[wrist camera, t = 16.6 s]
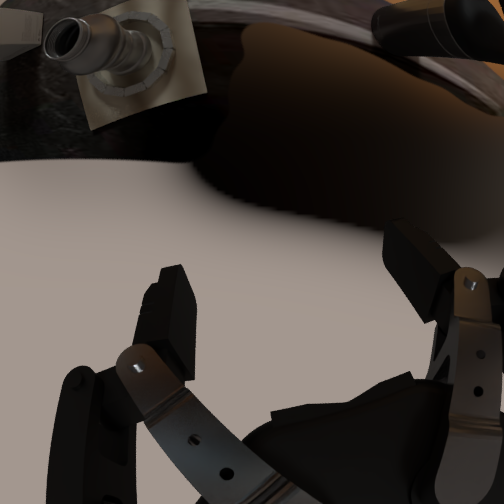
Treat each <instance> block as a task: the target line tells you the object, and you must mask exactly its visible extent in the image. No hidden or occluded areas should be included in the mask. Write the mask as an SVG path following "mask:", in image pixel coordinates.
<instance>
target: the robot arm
mask: <svg viewBox="0 0 504 504" xmlns="http://www.w3.org/2000/svg"><path fill="white" fill-rule="evenodd" d="M499 3H500V5H501V7H502V11H503V14H504V0H499ZM372 30H373V33H374V35H375V37H376V39H377V41H378V42H379V44H380V45H381V46H382V47H383V48H384V49H385V50H386V51H388V52H389V53H391V54H393V55H397V56H424V57H447V58H460V59H470V60H477V61H485V62H491V63H497V64H502V65H504V21H503V19H502V18H501V16H500V15H499V13H498V12H497V11H496V9H495V8H494V7H493V5H492V4H491V3H490V2H489V1H488V0H407V1H403V2H400V3H396V4H392V5H389V6H386V7H382V8H380V9H378V10H377V11H376V12H375V13H374V15H373V18H372ZM382 257H383V262H384V265H385V267H386V269H387V270H388V271H389V273H390V274H391V276H392V277H393V278H394V280H395V281H396V282H397V284H398V285H399V287H400V288H401V289H402V291H403V292H404V294H405V295H406V297H407V298H408V300H409V301H410V303H411V304H412V306H413V307H414V308H415V310H416V312H417V313H418V315H419V316H420V318H421V319H422V321H423V322H424V324H425V323H428V322H430V321H433V320H435V321H436V322H437V325H436V327H435V332H434V340H433V347H432V354H431V360H430V365H429V369H428V373H427V375H426V378H425V379H414V378H413V376H412V374H411V372H410V371H409V372H406V373H404V374H401V375H399V376H396V377H393V378H391V379H388V380H385V381H383V382H380V383H378V384H377V385H375V386H373V387H372V388H370V389H369V390H367V391H365V392H364V393H362V394H361V395H359V396H357V397H356V398H354V399H352V400H350V401H349V402H344V403H325V404H324V403H323V404H305V405H300V406H296V407H291V408H287V409H282V410H277V411H272V412H271V418H272V420H271V421H269V422H267V423H265V424H263V425H262V426H259V427H258V428H256V429H255V430H253V431H252V432H251V433H249V434H248V435H247V436H246V437H245V438H244V439H243V440H242V441H240V440H239V439H238V438H237V437H236V436H235V435H234V434H232V433H231V432H230V431H229V430H228V429H227V428H226V427H225V426H224V425H223V424H222V423H221V422H220V421H219V420H218V419H217V418H216V417H215V416H214V415H213V414H212V413H211V412H210V411H209V410H208V409H207V408H206V407H205V406H204V405H203V404H202V403H201V402H200V401H199V400H198V399H197V398H196V397H195V395H194V394H193V393H192V392H191V391H190V390H189V389H188V388H186V387H185V381H191V380H195V347H196V320H197V304H196V299H195V296H194V293H193V290H192V288H191V286H190V283H189V281H188V279H187V276H186V274H185V271H184V268H183V267H182V265H181V264H179V265H174V266H170V267H165V268H162V269H161V271H160V276H159V279H158V282H157V283H153V284H151V285H150V287H149V288H148V289H147V291H146V292H145V294H144V297H143V301H142V306H141V309H140V315H139V317H138V322H137V326H136V330H135V334H134V339H133V343H132V346H130V347H128V348H127V349H126V350H124V351H123V352H122V353H121V354H120V356H119V357H118V359H117V362H116V366H114V367H111V368H109V369H106V370H104V371H101V372H98V373H95V372H94V371H93V370H92V369H91V368H90V367H88V366H78V367H76V368H74V369H73V370H71V371H70V372H69V373H68V374H67V376H66V377H65V379H64V381H63V385H62V389H61V393H60V397H59V402H58V407H57V412H56V417H55V423H54V429H53V434H52V441H51V447H50V455H49V464H48V474H47V489H46V504H137V492H136V426H137V423H139V422H141V421H144V424H145V425H146V427H147V429H148V430H149V432H150V433H151V434H152V436H153V437H154V438H155V440H156V441H157V443H158V444H159V445H160V447H161V448H162V449H163V450H164V452H165V453H166V454H167V456H168V457H169V458H170V460H171V461H172V462H173V463H174V464H175V466H176V467H177V468H178V469H179V470H180V472H181V473H182V474H183V475H184V476H185V478H186V479H187V480H188V481H189V482H190V483H191V484H192V486H193V487H194V488H195V489H196V490H197V491H198V492H199V493H200V494H201V495H202V496H201V497H200V498H199V499H198V501H197V502H196V504H504V413H503V412H501V411H500V406H501V393H502V372H503V373H504V268H503V269H502V272H501V274H500V277H499V278H488V279H487V278H486V277H485V276H484V275H483V274H482V273H481V272H480V271H478V270H476V269H474V268H470V267H462V268H461V267H460V266H459V265H458V263H457V262H456V261H455V260H454V259H453V258H452V257H451V256H450V255H449V254H448V253H447V252H446V251H445V250H444V249H443V248H441V247H440V245H439V244H438V243H437V242H435V241H434V239H433V238H432V237H431V236H430V235H429V234H428V233H427V232H425V231H423V230H421V229H419V228H417V227H414V226H413V225H412V224H411V223H410V222H409V221H407V220H406V219H405V218H398V219H393V220H389V221H386V223H385V227H384V239H383V251H382Z"/></svg>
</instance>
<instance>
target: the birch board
mask: <svg viewBox="0 0 504 504" xmlns="http://www.w3.org/2000/svg"><path fill="white" fill-rule="evenodd" d="M128 11H129V12H130V11H138V12H148V13H152V14H154V15H155V16H157V17H158V18H159V19H160V20H161V21H163V22H164V23H165V24H166V25H167V26H168V27H169V28H170V29H171V31H172V34H173V38H174V43H175V47H176V49H175V51H176V52H175V55H174V58H173V60H172V63H171V66H170V69H169V71H168V70H165V71H166V72H168V73H167V74H166V75H165V76H164V77H163V78H161V79H160V80H159V81H158V82H157V83H156V84H155V85H154V86H153V87H152V88H150V89H149V90H146V91H143V92H140V93H137V94H134V95H131V96H127V97H119V96H113V95H106V94H104V93H101V92H100V91H99V90H98V89H96V88H95V87H94V86H93V85H92V84H91V83H90V82H89V80H90V79H87V76H86V75H82V76H78V75H76V77H77V82H78V86H79V90H80V94H81V98H82V102H83V105H84V109H85V113H86V116H87V120H88V123H89V126H90V130H91V131H92V130H94V129H96V128H99V127H101V126H104V125H106V124H108V123H111V122H114V121H116V120H119V119H121V118H124V117H127V116H130V115H132V114H135V113H138V112H141V111H144V110H147V109H150V108H153V107H156V106H159V105H163V104H166V103H169V102H173V101H176V100H180V99H183V98H187V97H191V96H195V95H199V94H203V93H207V88H206V84H205V80H204V75H203V71H202V66H201V62H200V57H199V53H198V48H197V44H196V39H195V35H194V30H193V26H192V21H191V17H190V12H189V7H188V3H187V0H130V1H127V2H124V3H122V4H119V5H117V6H115V7H112V8H110V9H108V10H105V11H103V12H101V13H99V14H106V15H109V16H111V17H115V16H118V15H120V14H123V13H125V12H128ZM122 28H124V29H125V30H134V31H139V32H142V33H144V34H145V35H146V36H147V37H148V38H149V40H150V42H151V45H152V54H151V57H150V59H149V61H148V62H147V64H146V65H145V66H144V67H143V68H141V69H140V70H138V71H137V72H134V73H132V74H129V75H124V76H120V75H115V74H113V73H110V72H109V71H106V70H104V71H101V75H102V76H103V77H104V78H105V79H106V80H107V81H109V82H110V83H111V84H112V85H113V86H120V87H129V86H132V85H135V84H138V83H140V82H143V81H144V80H145V79H146V78H147V77H148V76H149V75H150V74H151V73H152V72H153V71H154V70H155V69H156V68H157V67H158V64H159V61H160V58H161V55H162V52H163V49H164V47H163V43H162V38H161V34H160V31H159V30H158V29H157V28H155V27H154V26H153V25H152V24H148V23H140V22H132V23H129V24H127V25H124V26H122Z"/></svg>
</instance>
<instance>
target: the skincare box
mask: <svg viewBox="0 0 504 504" xmlns="http://www.w3.org/2000/svg"><path fill="white" fill-rule="evenodd" d="M42 23H43V13H37V12H31V11H24V10H17V9H7V8H0V61H5V60H10V59H12V58H14V57H16V56H18V55H20V54H22V53H25V52H27V51H29V50H31V49H33V48H35V47H38V46H40V45H41V38H42Z"/></svg>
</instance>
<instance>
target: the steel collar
mask: <svg viewBox="0 0 504 504" xmlns="http://www.w3.org/2000/svg"><path fill="white" fill-rule="evenodd" d="M113 18H114V19H115V20H116V21H117V22H118V23H119V24H120V25H121V26H124V25H127V24H129V23H132V22H140V23H148V24H152V25H153V26H154V27H155V28H157V29H158V30H159V31H160V34H161V38H162V43H163V47H164V49H163V52H162V55H161V58H160V61H159V64H158V67H157V68H156V69H155V70H154V71H153V72H152V73H151V74H150V75H149V76H148V77H147V78H146V79H145V80H144V81H143V82H140V83H138V84H135V85H132V86H129V87H120V86H113V85H112V84H111V83H110V82H109V81H107V80H106V79H105V78H104V77H103V76H102V75H101V71H99V72H95V73H92V74H88V75H86V76H87V79H90V80H89V82H90V83H91V84H92V85H93V86H94V87H95V88H96V89H98V90H99V91H100V92H101V93H104V94H106V95H113V96H119V97H127V96H131V95H134V94H137V93H140V92H143V91H146V90H149V89H150V88H152V87H153V86H154V85H155V84H156V83H157V82H158V81H159V80H160V79H161V78H163V77H164V76H165V75H166V74H167V73H168V72H166V71H165V70H168V71H169V69H170V66H171V63H172V60H173V58H174V55H175V52H176V51H175V49H176V47H175V43H174V38H173V34H172V31H171V29H170V28H169V27H168V26H167V25H166V24H165V23H164V22H163V21H161V20H160V19H159V18H158V17H157V16H155V15H154V14H152V13H148V12H138V11H130V12H129V11H128V12H125V13H123V14H120V15H118V16H115V17H113Z"/></svg>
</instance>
